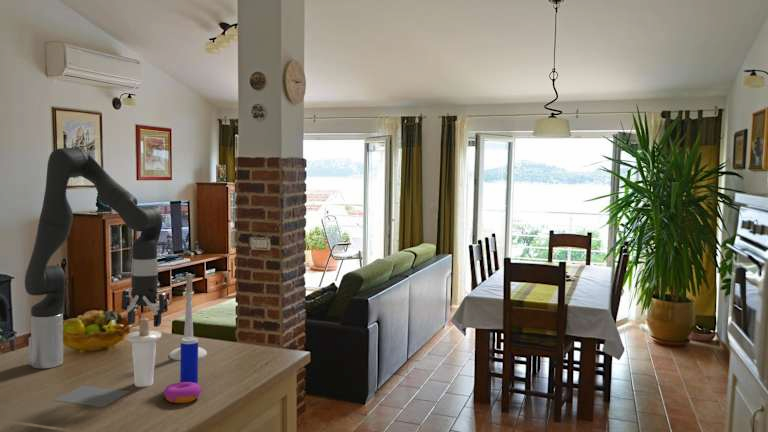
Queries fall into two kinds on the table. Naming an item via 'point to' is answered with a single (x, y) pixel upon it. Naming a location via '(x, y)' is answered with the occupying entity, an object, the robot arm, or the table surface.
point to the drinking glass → (144, 363)
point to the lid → (143, 333)
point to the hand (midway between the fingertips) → (144, 324)
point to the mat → (92, 396)
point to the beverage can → (189, 360)
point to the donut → (182, 392)
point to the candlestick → (188, 321)
